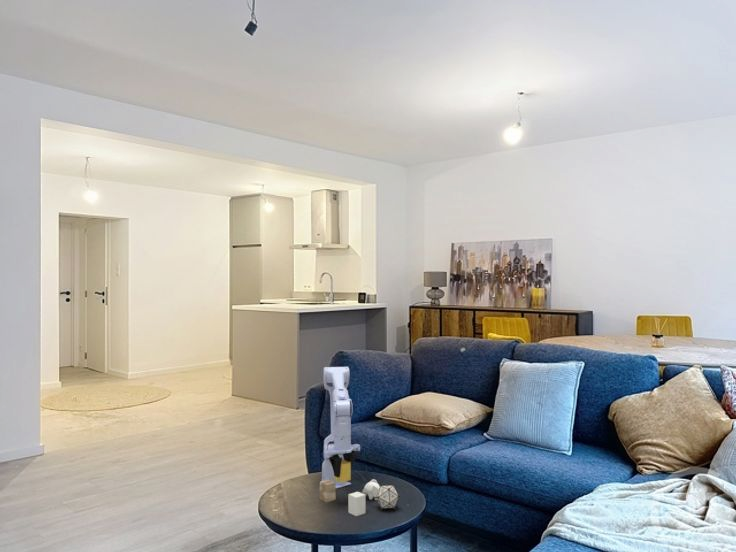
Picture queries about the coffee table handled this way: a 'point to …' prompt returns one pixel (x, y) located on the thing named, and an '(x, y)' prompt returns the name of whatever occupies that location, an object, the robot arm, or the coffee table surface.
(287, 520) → the coffee table surface
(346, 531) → the coffee table surface
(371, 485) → the elephant figurine
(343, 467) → the mustard bar
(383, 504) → the game die
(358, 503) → the off-white bar
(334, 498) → the birch bar
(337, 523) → the coffee table surface
